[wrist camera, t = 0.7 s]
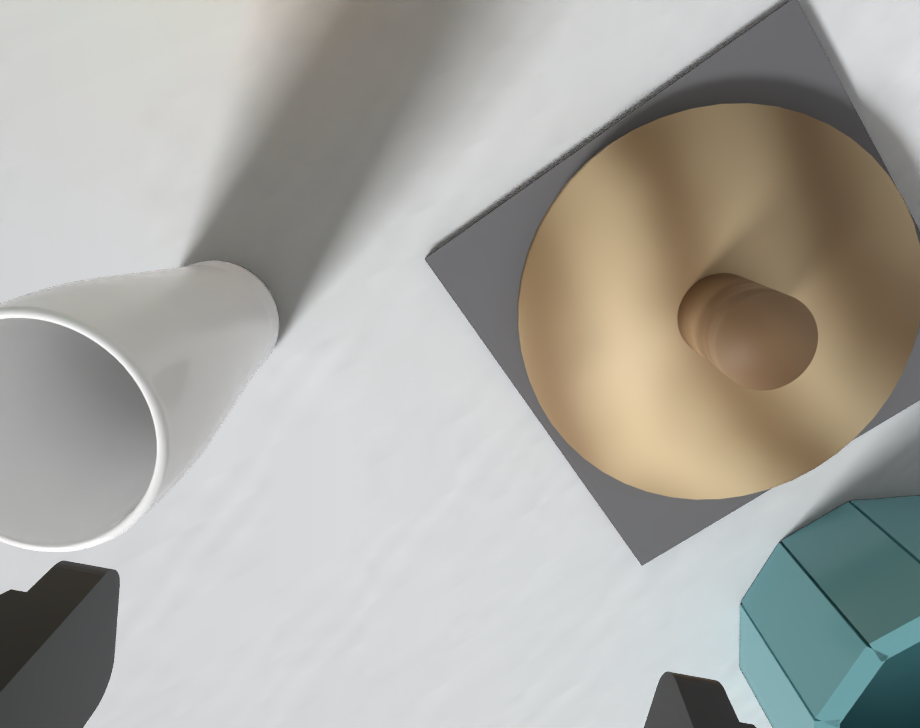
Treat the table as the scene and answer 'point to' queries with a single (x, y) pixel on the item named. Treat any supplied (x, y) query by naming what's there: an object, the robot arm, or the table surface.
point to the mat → (516, 220)
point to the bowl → (839, 621)
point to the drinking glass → (119, 394)
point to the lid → (720, 300)
